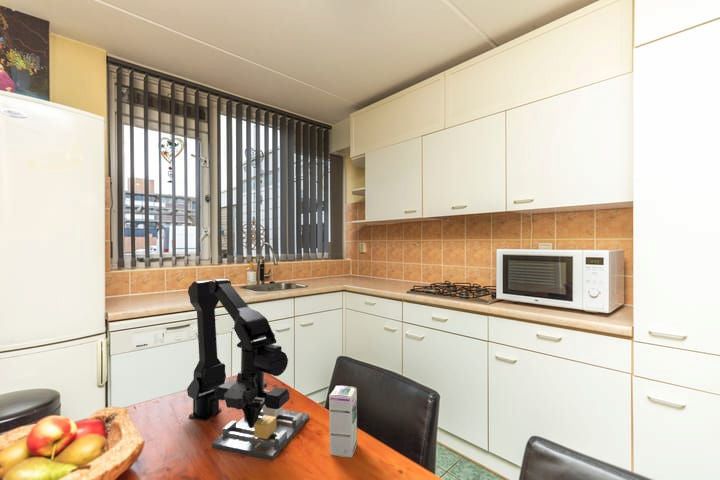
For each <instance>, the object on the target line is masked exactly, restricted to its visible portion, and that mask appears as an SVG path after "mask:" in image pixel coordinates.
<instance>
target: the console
mask: <svg viewBox="0 0 720 480" xmlns="http://www.w3.org/2000/svg"><path fill="white" fill-rule="evenodd" d="M261 417H263V408H262V410H261V412H260V414H259V417H258V419H257V421H258V420H259V419H260V418H261ZM309 419H310V413H307V412H306V413H305V412H299V411H293V410H287V409H283V411H282V412H281V413H280V414H279V415H278V416H277V419H276V430H275V431H274V432H273V433H272V434H271V435H270V438H269V439H263V438H258V437H254V427H253V428H249V425H248V422H247V420H246V417H245V414H244V413H243V417H242V418H241V419H240V420H239V421H236V420H232V421H230V422H229V423H227V424H226V425H225V426H224V427H222V434H221V435H220V436H218V437H217V438H216V439H215V440H214V441H212V442H211V449H216V450H220V451H224V452H230V453H233V454H238V455H241V456H248V457H253V458H257V459H262V460H266V461H270V462H272V461H273V460H274V459H276V457H277V456H278V455H279V454H280V452H281V451H282V450H283V449H284V448H285V446H286V445H288V443H289V442H290V441H291V439H293V437H294V436H295V435H296V434H297V433H298V432H299V430H300V429H301V428H302V427H303V426H304V425H305V424H306V422H308V420H309ZM257 421H256V422H257Z"/></svg>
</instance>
